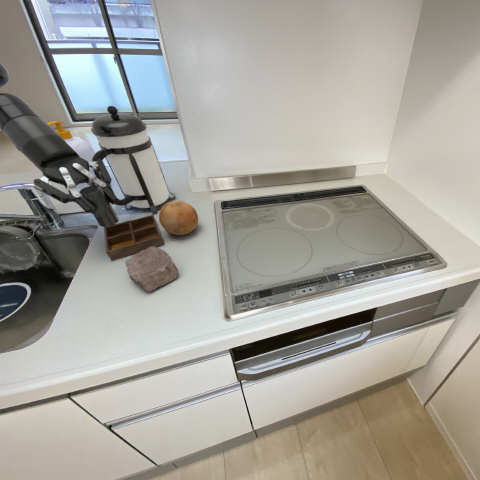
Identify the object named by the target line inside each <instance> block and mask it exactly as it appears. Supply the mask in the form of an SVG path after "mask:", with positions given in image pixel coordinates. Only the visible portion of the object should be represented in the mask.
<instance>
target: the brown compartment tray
mask: <svg viewBox="0 0 480 480" xmlns="http://www.w3.org/2000/svg"><path fill="white" fill-rule="evenodd" d="M103 234H104V245H105V253H106V255H107V256H108V258H109V259H110V261H111V262H113V261H117V260H120V259H123V258H127V257H131V256H133V255H135V254H137V253H139V252H141V251H142V250H146V249H147V248H149V247H151V246H154V247H157V248H159V247H162V246H166V245H165V244H166V243H165V242H164V239H163V236H162V233H161V230H160V227H159V225H158V223H157V219H156V218H155V214H150V215H147V216H142V217H139V218H135V219H130V220H127V221H122V222H118V223H116V224H115V225H112V226H109V227H103Z"/></svg>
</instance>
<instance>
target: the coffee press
mask: <svg viewBox="0 0 480 480" xmlns="http://www.w3.org/2000/svg"><path fill="white" fill-rule="evenodd" d="M106 110H107V112H108V113H109V114H105V115H102V116H99V117H97V118H95V119H94V120H93V121H92V123H91V128H90V131H91V133H92V134H93V136H95V137H96V140H97V141H98V146H99V148H100V150H98V151H96V152H95V155H94V156H93V158H92V161H96V160H97V159H101V160H102V161H104V160H105V161H106V162H107V164H108V167H109V168H110V171H111V173H112V175H113V177H114V179H115V181H116V183H117V184H118V187H119V189H120V191H121V193H122V196H123V198H122V199H120V198H118V197H117V199H116V200H117V202H116V204H114V205H115V206H119V207H123V206H124V209H125V210H126V211H130V210H132V208H133V207H134V208H138V209H149V208H150V211H151V213H152V215H155V214H158V210H157V208H156V207H158V206H160V205H162V204H163V203H165V202H166V201H167V200H168V199H169V200H172V201H175V199H176V195H175V194H174V193H173V192H171V191H170V189H169V187H168V184H167V181H166V178H165V176H164V172H163V170H162V167H161V164H160V162H159V159H158V156H157V154H156V151H155V148H154V145H153V142H152V140H151V137H150V136H149V134H148V131H147V127H148V126H147V124H146V123H145V122H144V121H143V120H142V118H140V117H138V116H136V115H134V114H130V113H119V109H118V108H117V107H115V106H114V105H109V106H107V108H106ZM93 171H94V174H95V176H96V177H97V178H98V179H100V180H101V181H102V179H101V177H100V175H99V173H98V171H95V170H94V169H93ZM108 188H109V189H110V190H111V191H112V192H113V193H114V194H115V192H114V190H113V188H112V185H111V186H108ZM170 195H171V196H173V197H171V196H170ZM128 205H130V206H129V207H127V206H128Z"/></svg>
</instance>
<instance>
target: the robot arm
mask: <svg viewBox="0 0 480 480" xmlns="http://www.w3.org/2000/svg"><path fill="white" fill-rule="evenodd" d="M10 81H11V76H10V73H9V71H8V69H7V68H6V67H5V66H4V64H3V63H1V62H0V90H1V89H2V88H4V87H6V86H7V85H8V84H9V83H10ZM47 123H48V122H46V121H45V120H43V119H42V117H40V116H39V114H38V113H37V112H35V110H33V108H31V106H29V104H28V103H26V101H25V100H23V99H22V98H21V97H19V96H17V95H16V94H13V93H6V92H5V93H4V92H2V93H0V131H1V132H2V133H3V134H4V136H6V138H7V139H8V140H9V142H11V144H12V145H13V146H14V147H15V148H16V150H17V151H19V152H20V153H22V155H23V156H25V157H26V158H27V159H28V160H29V161H30V162H31V163H32V164H33V165H34V166H35V167H36V168H37V169H38V170H39V171H41V173H42V177H40V178H35V179H33V187H34V189H36V190H38V191H39V192H41V193H42V194H45V195H47V196H49V197H51V198H52V199H55V200H56V201H58V202H60V203H62V204H68V203H76V204H77V205H78V206H79V207H80V208H81V209H82V210H83V211H84V212H85V213H87V214H91V215H93V214H94V213H96V208H95V207H94V206H93V205H92V204H91V203H90V202H89V201H88V200H87V199H86V198H85V197H83V196H82V195H81V194H80V192H79V191H78V190H77V188H76V186H77V185H78V184H81V183H86V184H88V185H90V186H101V187H102V189H103V191H104V193H105V195H106V197H107V198H108V200H109V202H110V204H111V206H113V205H115V204H116V202H117V200H116V199H117V198H118V197H117V195H116V194H115V192H114V191H113V192H114V193H113V192H112V191H111V190H110V189H109V188H108V186H110V184H111V183H112V180H113V179H112V177H111V175H110V173H109V171H108V168H107V167H106V165H105V163H104V160H101V159H97V160H96V161H92V162H88V161H86V160H85V159H82V158H81V157H80V156H79V155H78V154H77V153H76V152H75V151H74V150H73V149H72V148H71V147H70V146H69V145H68V144H67V143H66V142H65V140H64V139H63V138H62V137H61V136H60V135H59V134H58V133H57V132H56V131H57V130H55V129H54V128H53V127H52V125H51V126H49V125H48V124H47ZM89 167H91V168H93V169H94V170H95V171H98V173H99V175H100V177H101V179H102V181H101V180H100V179H98V178H97V177H96V176H95V175H94V174H92V173H91V172H90V171H89ZM51 182H52V183H54V184H57V185H62V186H63V187H64V189H65V191H66V192H67V193H66V192H64V191H62V190H61V189H59V188H57V187H55V186H53V185H52V183H51ZM111 185H112V184H111Z"/></svg>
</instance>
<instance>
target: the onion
mask: <svg viewBox="0 0 480 480" xmlns="http://www.w3.org/2000/svg"><path fill="white" fill-rule="evenodd" d="M158 220H159V223H160V225H161V227H162V228H163V230H165V232H167V233H169V234H171V235H175V236H185V235H188V234H189V233H191V232H192V231H194V230H195V228H197V226H198V224H199V215H198V213H197V210H196V209H195V208H194V207H193V205H191V204H190V203H188V202H185V201H183V200H172V201H169V202H167V203H165V204H163V205H162V206H161V208H160V210H159V214H158Z"/></svg>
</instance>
